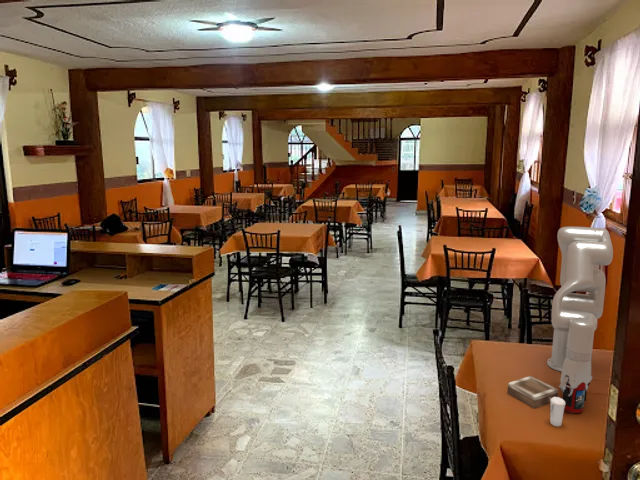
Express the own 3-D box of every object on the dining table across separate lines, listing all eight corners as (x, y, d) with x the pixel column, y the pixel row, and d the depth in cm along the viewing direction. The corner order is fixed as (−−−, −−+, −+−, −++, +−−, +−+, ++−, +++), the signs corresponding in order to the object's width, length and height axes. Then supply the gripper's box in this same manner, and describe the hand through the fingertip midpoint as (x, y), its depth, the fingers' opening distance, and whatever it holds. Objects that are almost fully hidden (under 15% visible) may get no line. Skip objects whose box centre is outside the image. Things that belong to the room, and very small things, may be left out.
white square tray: (529, 385, 187) (530, 375, 186) (557, 400, 177) (558, 389, 176) (507, 393, 182) (508, 382, 181) (534, 408, 171) (535, 397, 171)
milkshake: (543, 420, 164) (545, 393, 162) (558, 419, 164) (561, 392, 162) (550, 428, 159) (553, 400, 158) (566, 427, 160) (568, 399, 158)
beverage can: (582, 416, 166) (585, 384, 164) (560, 411, 170) (563, 379, 167) (583, 407, 172) (586, 376, 169) (562, 402, 175) (565, 371, 173)
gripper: (585, 345, 173) (580, 391, 177) (552, 355, 165) (547, 403, 169) (605, 353, 167) (600, 401, 170) (572, 364, 159) (567, 413, 162)
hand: (574, 401), depth 170 cm, fingers closed on beverage can, 6 cm apart
